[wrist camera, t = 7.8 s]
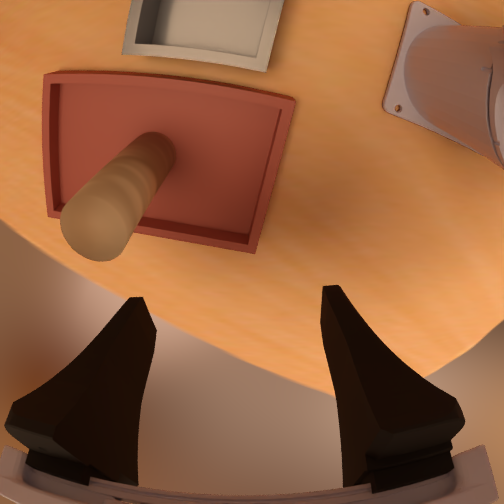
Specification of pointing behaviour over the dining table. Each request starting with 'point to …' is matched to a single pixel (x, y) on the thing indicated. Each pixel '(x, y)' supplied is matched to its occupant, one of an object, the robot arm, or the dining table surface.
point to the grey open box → (204, 30)
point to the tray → (184, 140)
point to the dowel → (117, 198)
